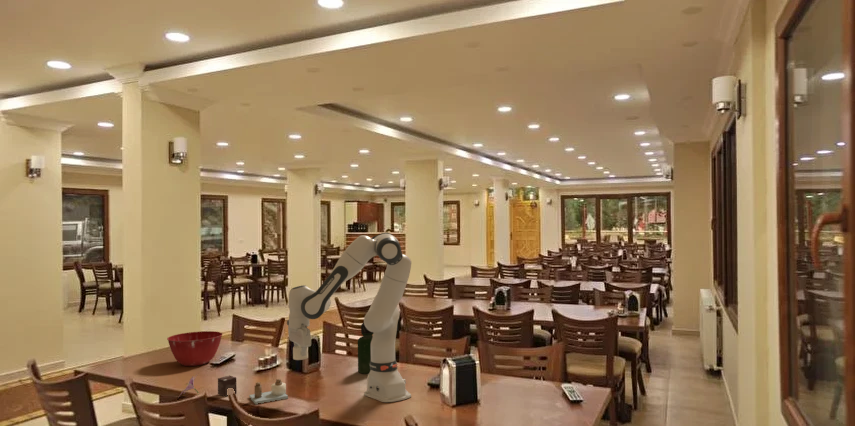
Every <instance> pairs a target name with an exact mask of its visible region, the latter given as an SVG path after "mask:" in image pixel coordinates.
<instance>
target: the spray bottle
mask: <svg viewBox="0 0 855 426" xmlns="http://www.w3.org/2000/svg"><path fill="white" fill-rule="evenodd" d="M373 333H374V332H371V331H369V330H368V329H367V328H366V327H365V325H364V322H362V323H361V325H360V334H361V335H362V336H361V337H359V338H358V339H357V372H358V373H360V374H362V375H368V374H369V373H370V370H371V369H370V360H371V341H372V338H373Z"/></svg>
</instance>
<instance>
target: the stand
mask: <svg viewBox="0 0 855 426" xmlns="http://www.w3.org/2000/svg"><path fill="white" fill-rule="evenodd" d="M270 387H271V390H270V391H265V392H262V391H263V385H262V384H261V382H259V381H257V382H255V384H254V393H253V394H249V395H248V397H250V398H251V399H250V398H249V399H250V400H251V401H252V403H253V404H255V405H259V404H258V403H261V404H265V403H264V402H267V403H270V401H272V402H276V401H275V400H277V401H282V400H281V399H283V400H287V399H289V395H288V394H286V393H287V383H285V382H283V381H282V379H281V378H277V379H276V380H275V382H273V383H272V384H271V385H270Z"/></svg>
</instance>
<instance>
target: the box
mask: <svg viewBox="0 0 855 426" xmlns="http://www.w3.org/2000/svg"><path fill="white" fill-rule="evenodd" d="M228 388H233V389H234V391H235V394H237V377H236V376H232V375H225V376H223V377H218V378H217V394H219V395H218V396H222V397H224V396H225V397H227V396H226V395H227V389H228Z"/></svg>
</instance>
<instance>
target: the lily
mask: <svg viewBox="0 0 855 426" xmlns="http://www.w3.org/2000/svg"><path fill="white" fill-rule="evenodd" d="M197 376H198V374H196V375H195V376H194V375H192V377H191V378H190V379H189V381H188V382H187V383H185V385H186V387H185V389H183V390H182V391H181V392H180V394H179V396H178V399H179V397H180V396H181V395H182V394H185V393H186V392H187V391H189V390H193V389H194V390H195V391H196V392H197V394H198V393H199V391H198V390H197V389H196V388H195V386H194V382H195V379H196V377H197Z"/></svg>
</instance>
